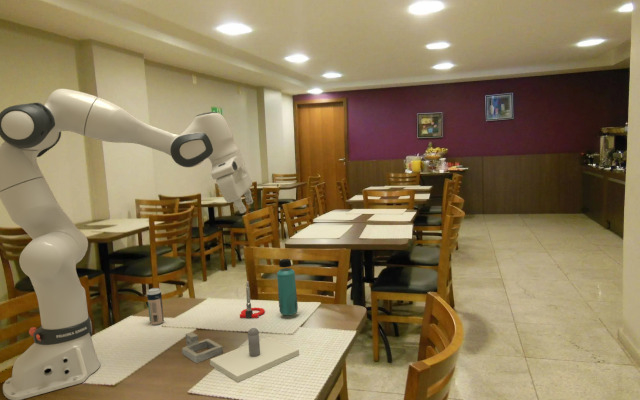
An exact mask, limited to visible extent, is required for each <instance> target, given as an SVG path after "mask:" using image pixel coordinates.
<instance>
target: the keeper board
mask: <svg viewBox="0 0 640 400" xmlns="http://www.w3.org/2000/svg"><path fill="white" fill-rule="evenodd" d="M247 343H248V344H247V345H244V346H241V347H239V348H236V349H233V350H231V351H228V352H226V353H225V352H224V353H222V354H219V355H217V356H214V357H211V358H209V364H210V366H211V367H212V368H215V369H216V370H218V371H219V372H221V373H222V374H224V375H225V376H227V377H229V378H230V379H232V380H233V381H235V382H236V383H239V382H241V381H244V380H246V379H248V378H250V377H253V376H255V375H257V374H259V373H262V372H264V371H266V370H268V369H270V368H272V367H275V366H277V365H280V364H282V363H284V362H287V361H289V360H291V359H294V358H296V357H297V356H298V357H299V356H300V349H298V348H296V347H294V346H291V345H289V344H287V343H285V342H283V341H281V340H278V339H276V338H274V337H271V336H267V337H263V338H261V339H260V332H259V330H258V329H257V328H256V327H251V328H249V330H248V332H247Z"/></svg>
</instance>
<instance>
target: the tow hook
mask: <svg viewBox="0 0 640 400" xmlns="http://www.w3.org/2000/svg"><path fill="white" fill-rule="evenodd" d="M250 288H251V287H250V282H249V281H248V280H247V281H246V287H245V291H246V293H245V294H246V308H245V309H243V310H241V311H240V313H239V318H240V319H259V317H260V316H263V315H264V314H265V313H266V311H265V309H264V308H263V307H252V303H251V291H250ZM257 311H258V312H257Z"/></svg>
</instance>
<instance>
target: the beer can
mask: <svg viewBox="0 0 640 400" xmlns="http://www.w3.org/2000/svg"><path fill="white" fill-rule="evenodd" d="M146 297H147V306H148V308H147V309H148V317H149V318H148V319H149V324H150V325H152V326H158V324H159V325H161V324H163V323H164V322H165V320H164V318H165V317H164V307H163V299H162V298H163V297H162V290H161V289H160V288H159V287H152V288H150V289H147V292H146Z"/></svg>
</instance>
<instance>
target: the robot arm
mask: <svg viewBox="0 0 640 400" xmlns="http://www.w3.org/2000/svg"><path fill="white" fill-rule="evenodd" d="M62 132H71V133H76V134H79V135H81V136H84V137H86V138H90V139H93V140H96V141H101V142H108V143H113V144H114V143H118V144H120V143H121V144H122V143H123V144H124V143H125V144H136V145H141V146H144V147H147V148H150V149H153V150H156V151H159V152H162V153H165V154H166V155H169V156H171V158H172V160H173V161H174V163H175V164H177V165H178V166H181V167H184V168H194V167H197V166H199V165H200V164H202V163H203V162H204V161H205V160H206V159H208V160H209V162H210V164H211V172H210V175H211V178H212V179H213V180H215V181H216V185H217V187H218V189H219V192H220V193H221V195H222V196H223V199H224V200H225V202H226V203H228V204H230V203H233V204H234V206H235V207H236V208H237V209H238V211H239V214H244V213H246V212H247V207H246V205H245V204H244V203H243V202H242V200H243V199H242V197H243V195H244V197H245V202H246V204H247V205H248V206H250V205H252V204H253V203H254V200H253V198H252V197H253V196H252V191H251V187H252V186H253V181H252V178H251V176H250V174H249V172H248V170H247V168H246V166H245V165H246V164H245V161H244V159H243V157H242V154H241V151H240V150H239V148H238V146H237V144H236V143H235V140H234V136H233V133H232V131H231V128H230V126H229V125H228V122H227V120H226V119H225V117H224V116H223V115H222V114H221V113H219V112H217V111H209V112H204V113H201V114H197V115H195V116H194V118H193V119H192V121H191V123H190V124H189V125H188V126H187V127H186V129H184V131H182V132H181V133H178V134H177V133H173V132H170V131H167V130H164V129H161V128H158V127H156V126H153V125H150V124H147V123H145V122H144V121H142V120H140V119H139V118H137V117H136V116H134V115H133V114H131V113H130V112H128V111H127V110H126V109H125V108H122V107H121V106H119V105H117V104H116V103H113V102H112V101H109V100H107V99H104V98H102V97H99V96H96V95H92V94H90V93H87V92H82V91H79V90H74V89H68V88H57V89H55V90H53V91H52V92H51V93H50V94H49V96H48V97H47V100H46V101H45V104H43V103H41V102H30V103H21V104H20V103H19V104H15V105H11V106H8V107H6V108H4V109H3V110H2V111H1V112H0V138H1V139H2V140H3V141H4V142H2V143H1V144H0V201H1V203H2V205H3V206H4V208H5V210H6V212H7V214H8V216H9V217H10V219H11V221H12V222H13V223H14V224H15V225H18V226H19V227H20V228H21V229H22V230H24V232H25V233H26V234H27V235H28V236H29V237H30V238H31V239H32V240H31V241H30V242H29V243H27V245H26V246H25V247H24V248H23V250H22V251H21V253H20V254H19V255H20V256H19V260H18V262H19V266H20V268H21V271H22V272H23V273H24V274H25V276H27V277H29V280H30V283H31V285H32V286H33V287H32V288H33V289H34V292H35V295H36V298H37V303H38V309H39V315H40V316H39V317H40V323H41V324H40V326H39V327H38V328H37V327H36V326H32V327H30V328H29V330H28V334H29V335H30V336H31V337H33V341H34V343H32V344H31V345H30V346H29V347H28V348H27V349H26V350H25V351H24V352H23V353H22V354H21V355H20V356H19V357H18V358H16V360H14V363H13V367H12V371H11V377H9V378H8V379H6V380H5V381H4V383H3V384H2V393H3V395H4V396H5V398H7V399H8V400H24V399H29V398H32V397H35V396H39V395H41V394H46V393H49V392H50V393H51V392H53V391H54V392H55V391H57V390H60V389H64V388H67V387H71V386H75V385H79V384H81V383H83V382H85V381H86V380H87V379H88V378H89V376H91V375H92V374H94V373H95V372H96V371H97V370H99V368H100V367H101V361H100V360H99V358H98V356H97V353H96V350H95V346H94V342H93V338H92V336H93V326H92V321H91V320H92V319H91V317H90V316H89V313H88V302H87V296H86V295H87V294H86V289H85V287H84V286H82V284H81V281H80V278H79V276H78V273H77V267H76V266H77V264H78V263H79V262H81V261H82V260H83V258H84V257H85V256H86V253H87V251H88V247H89V240H88V238H87V236H86V234H85V233H84V232H82V231H81V230H79V228H78V227H77V226H76V224H75V223H74V222H73V221H72V219H71V218H70V217H69V216H68V214H67V213H66V212H65V210H64V209H63V207H61V205H60V204H59V202H58V200H57V199H56V196H55V195H54V193H53V191H52V190H51V187H50V186H49V184H48V182H47V180H46V178H45V176H44V174H43V172H42V170H41V169H40V167H39V165H38V162H37V161H38V160H37V158H40V157H41V156H43V155H45V153H47V152H48V151H49V150H51V149H53V148H54V147H55V146H56V145H57V144H58V142H59V141H60V139H61V137H62Z"/></svg>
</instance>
